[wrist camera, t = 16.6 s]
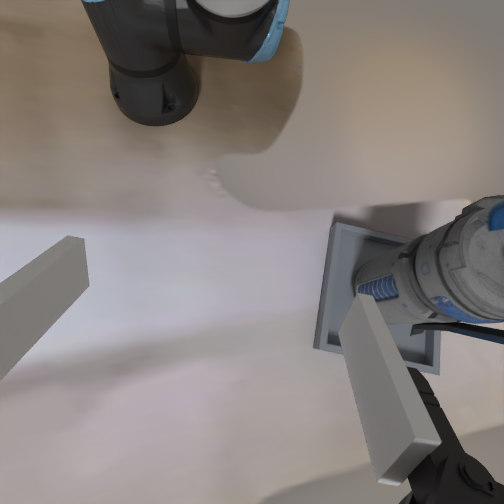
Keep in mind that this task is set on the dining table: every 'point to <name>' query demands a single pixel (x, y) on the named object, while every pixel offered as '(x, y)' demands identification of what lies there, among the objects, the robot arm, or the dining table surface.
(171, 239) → the dining table surface
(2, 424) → the dining table surface
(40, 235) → the dining table surface
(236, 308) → the dining table surface
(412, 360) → the tray
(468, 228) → the beverage bottle
